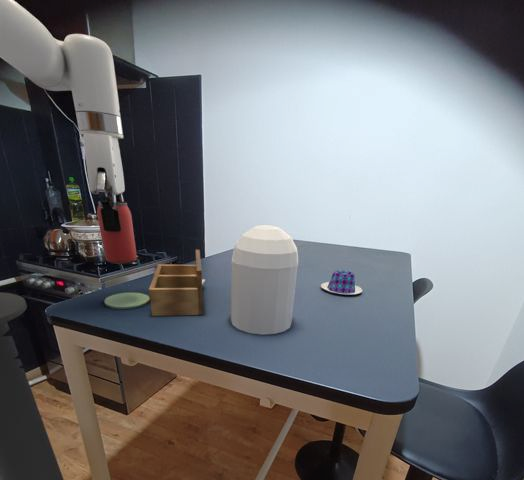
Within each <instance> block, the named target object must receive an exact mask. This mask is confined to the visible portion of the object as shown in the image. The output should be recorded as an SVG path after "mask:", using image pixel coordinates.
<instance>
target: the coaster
mask: <svg viewBox="0 0 524 480" xmlns="http://www.w3.org/2000/svg"><path fill="white" fill-rule="evenodd" d="M149 303H150V295H148V294H144V293H141V292H120V293H115V294H112V295H110V296H107V297H106V298H105V299H104V305H105V306H106V307H109V308H111V309H117V310H127V309H129V310H130V309H136V308H140V307H143V306H146V305H147V304H149Z"/></svg>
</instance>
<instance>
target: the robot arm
mask: <svg viewBox="0 0 524 480" xmlns="http://www.w3.org/2000/svg"><path fill="white" fill-rule="evenodd" d="M0 58H1V59H2V60H3V61H4V62H6V63H7V64H8V65H10V66H12V67H13V68H14V69H16V70H17V71H18V72H19V73H21V74H22V75H24V76H25V77H26V78H27V79H28V80H30V81H31V82H32V83H33V84H35V85H36V86H38V87H40V88H41V89H44V90H47V91H51V92H63V91H64V92H65V91H71V93H72V101H73V106H74V110H75V115H76V121H77V127H78V132H79V135H81V136H83V149H84V158H85V165H86V173H87V178H88V187H89V191H90V192H91V194H93V195H98V200H99V201H98V202H100V209H101V215H102V221H103V227H104V230H105V231H121V224H120V218H119V211H118V210H116V201H118V202H125V201H124V196H123V193H124V192H125V190H126V188H125V187H126V185H125V176H124V169H123V163H122V157H121V149H120V143H119V140H123V139H124V132H123V125H122V123H123V122H122V118H121V109H120V102H119V101H120V100H119V93H118V85H117V77H116V70H115V63H114V57H113V52H112V50H111V48H110V47H109V45H108V44H107V43H106V42H105V41H104V40H102V39H100V38H97V37H96V36H92V35H88V34H83V33H72V34H68V35H66V36H65V38H64V40H59V39H56V38H55V37H53V35H52V33H51V32H50V31H49V30H48V29H47V27H46V26H45V25H44V24H43V22H41V21H40V20H39V19H38V18H36V17H35V16H34V15H33V14H32V13H30V11H28V10H27V9H26V8H25V7H23V6H22V5H20V4H19V3H18V2H17V1H15V0H0Z"/></svg>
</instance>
